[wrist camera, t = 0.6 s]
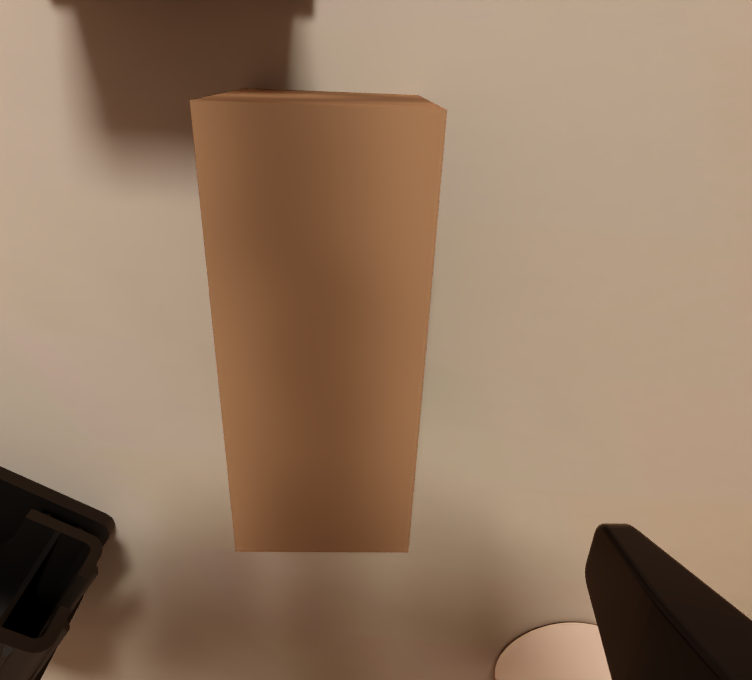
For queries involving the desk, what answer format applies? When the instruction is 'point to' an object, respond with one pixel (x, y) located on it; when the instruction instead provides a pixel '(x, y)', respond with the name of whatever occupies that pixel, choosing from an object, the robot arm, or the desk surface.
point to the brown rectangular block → (319, 307)
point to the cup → (555, 654)
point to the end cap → (42, 570)
